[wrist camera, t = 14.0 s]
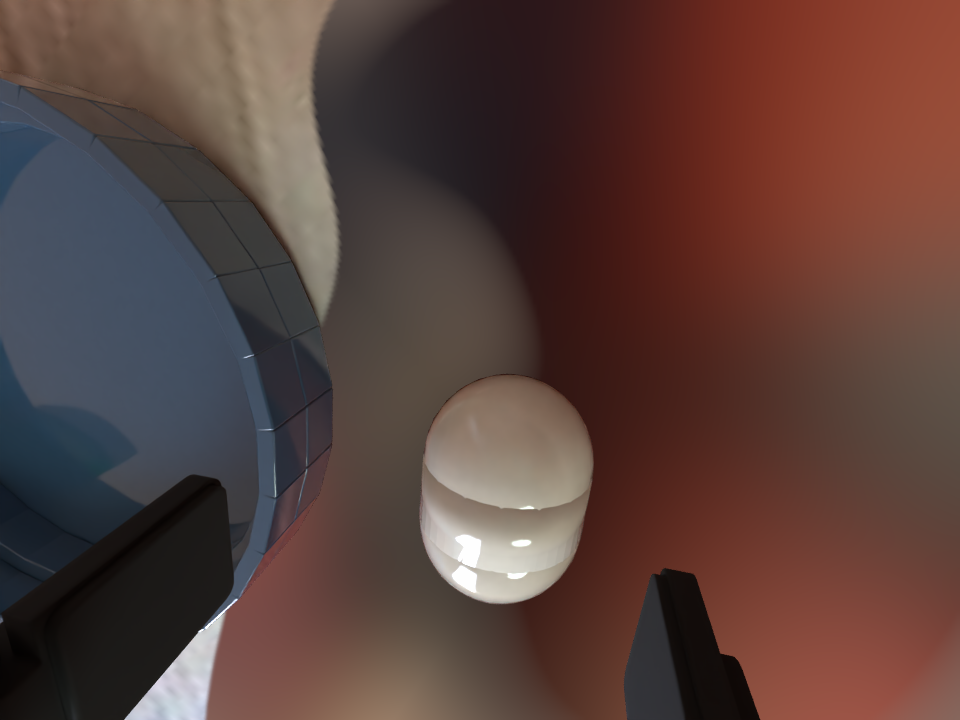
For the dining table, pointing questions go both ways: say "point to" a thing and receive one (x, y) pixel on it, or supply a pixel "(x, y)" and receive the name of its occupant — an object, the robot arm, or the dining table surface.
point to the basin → (142, 340)
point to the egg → (505, 488)
